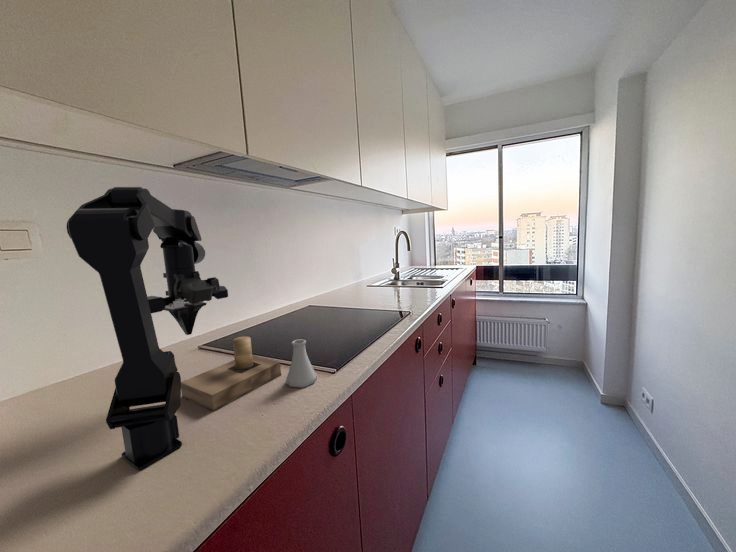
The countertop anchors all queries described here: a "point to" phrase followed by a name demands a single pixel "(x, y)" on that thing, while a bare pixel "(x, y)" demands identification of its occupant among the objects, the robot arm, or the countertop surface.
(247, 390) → the wooden peg board
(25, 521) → the countertop surface
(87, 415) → the countertop surface
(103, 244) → the robot arm
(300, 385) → the flask
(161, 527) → the countertop surface
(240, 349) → the oak peg
